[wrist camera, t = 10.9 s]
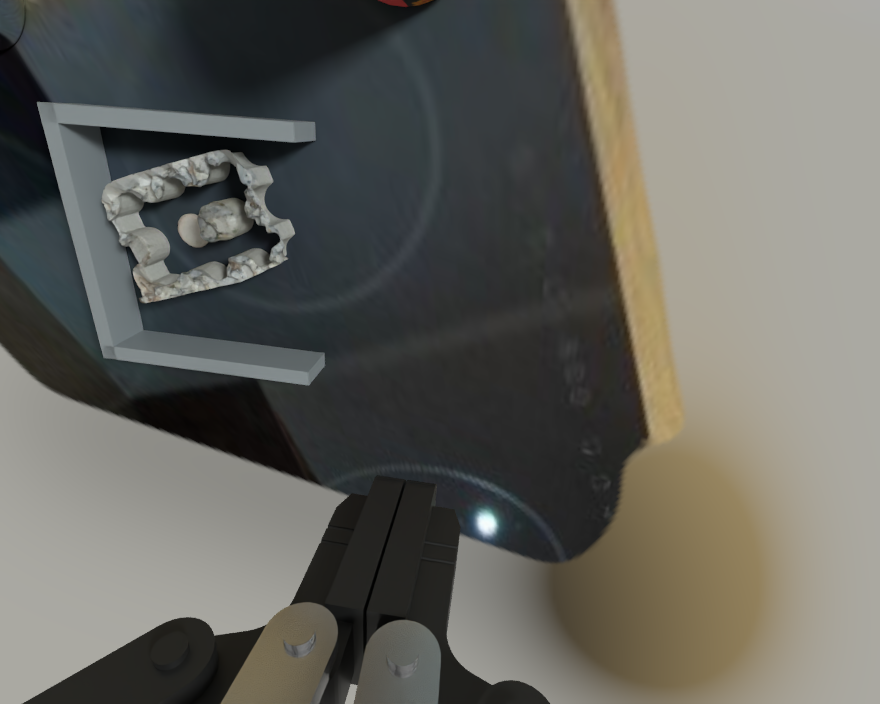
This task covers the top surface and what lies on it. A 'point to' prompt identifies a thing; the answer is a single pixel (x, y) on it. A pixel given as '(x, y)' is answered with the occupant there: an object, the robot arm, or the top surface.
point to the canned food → (405, 2)
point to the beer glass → (11, 22)
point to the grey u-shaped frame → (107, 260)
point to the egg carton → (194, 223)
